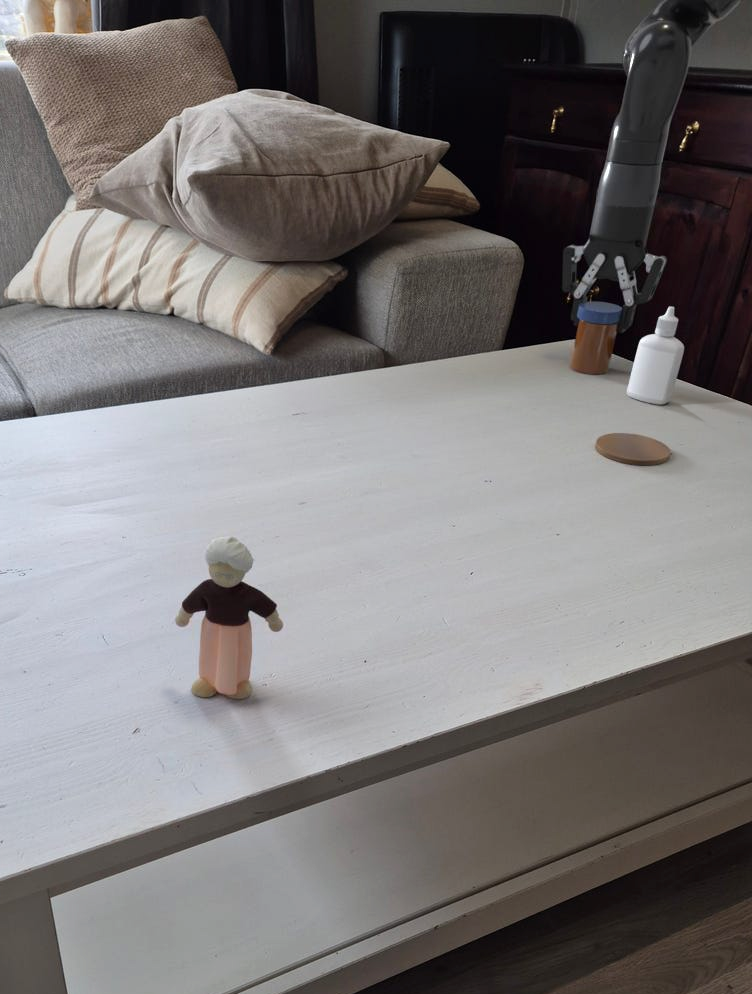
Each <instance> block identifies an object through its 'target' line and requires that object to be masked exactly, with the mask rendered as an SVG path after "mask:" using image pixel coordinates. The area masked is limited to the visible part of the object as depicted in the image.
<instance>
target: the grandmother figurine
mask: <svg viewBox="0 0 752 994" xmlns="http://www.w3.org/2000/svg"><path fill="white" fill-rule="evenodd" d="M204 557H205V558H204V559H205V562H206V565H208V573H209V576H210V578H208V579H205V580H203V581H202V582H201V583H199V584H197V586H196V587H195V588H194V589H192V591H191V592H190V593H189V594H188V595H187V596H186V597H185V598H184V599H183V601H182V603H181V606H180V608H179V610H178V614H177V615H176V616H175V618H174V623H175V624H176V626H178V627H179V628H185V627H187V626H188V625H189V623H190V620H191V618H193V616H194V614H195V613H199V612H204V616H203V618H202V620H201V625H200V633H199V634H200V635H199V636H200V637H199V651H198V652H199V653H198V676H199V677H198V678H197V679H196V680H195V681H193V683H192V684H191V687H190V692H191V693H192V695H194V696H196V697H201V698H209V697H212V696H214V695H216V694H217V693H220V694H223V695H225V696H226V697H228V698H229V699H232V700H244V699H247V698H248V697H250V695H251V694H252V687H251V684H250V683H251V682H250V676H251V667H252V657H253V632H252V630H253V629H252V622H251V619H250V618H251V617H250V616H249V613H250V612H252V613H253V614H256V615H257V616H259V617H260V618H262V619H264V620H265V622H267V623H268V625H267V626H268V628H269V629H270V631H271V632H273V633H278V632H281V631H282V630H283V628H284V622H283V621H282V619H281V618H280V615H279V613H278V610H277V607H278V604H277V603H276V602H275V601H274V600H273V599H271V597H269V596H268V595H267V594H266V593H264V592H263V591H262V590H260V589H258V588H256V587H255V586H252V585H250V584H248V583H246V582H244V581H243V579H244V578H245V576H246V574H247V573H248V572H250V571H251V569H252V568H253V564H254V561H255V559H254V558H253V555H252V553H251V552H250V550H249V549H248V547H247V546H246V545H245V543H243V542H241V541H240V540H239V539H237V538H236V537H235V536H223V537H220V536H219V537H216V538H214V539H212V540H211V541H210V543H208V545H207V547H206V549H205V552H204Z"/></svg>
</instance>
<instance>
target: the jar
mask: <svg viewBox="0 0 752 994" xmlns="http://www.w3.org/2000/svg"><path fill="white" fill-rule="evenodd" d="M618 325H619V322H617V323H614V324H596V323H590V322H586V321H583V320H580V319H579V324H578V326H577V329H576V334H575V339H574V343H573V344H574V345H573V349H572V353H571V359H570V363H569V368H570V369H571V370H573V371H575V372H577V373H579V374H580V373H581V374H586V375H604V374H607V373H608V372H609V368H610V364H611V361H612V355H613V352H614V351H613V350H614V347H615V343H616V338H617V334H618V332H617V330H618Z"/></svg>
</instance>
